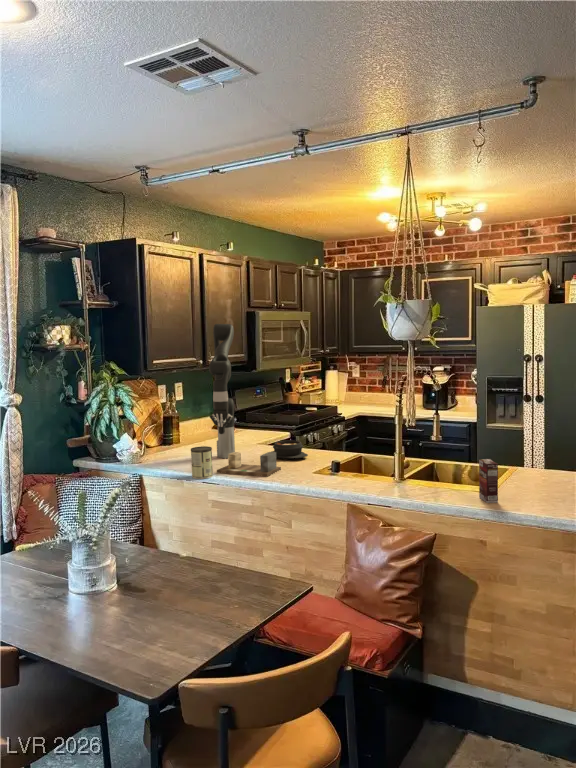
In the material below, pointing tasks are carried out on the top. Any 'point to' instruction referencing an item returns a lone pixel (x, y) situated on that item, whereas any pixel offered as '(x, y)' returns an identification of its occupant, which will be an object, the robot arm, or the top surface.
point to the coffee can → (201, 462)
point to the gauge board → (255, 467)
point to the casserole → (288, 449)
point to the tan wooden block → (234, 460)
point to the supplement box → (488, 480)
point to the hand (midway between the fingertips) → (221, 433)
